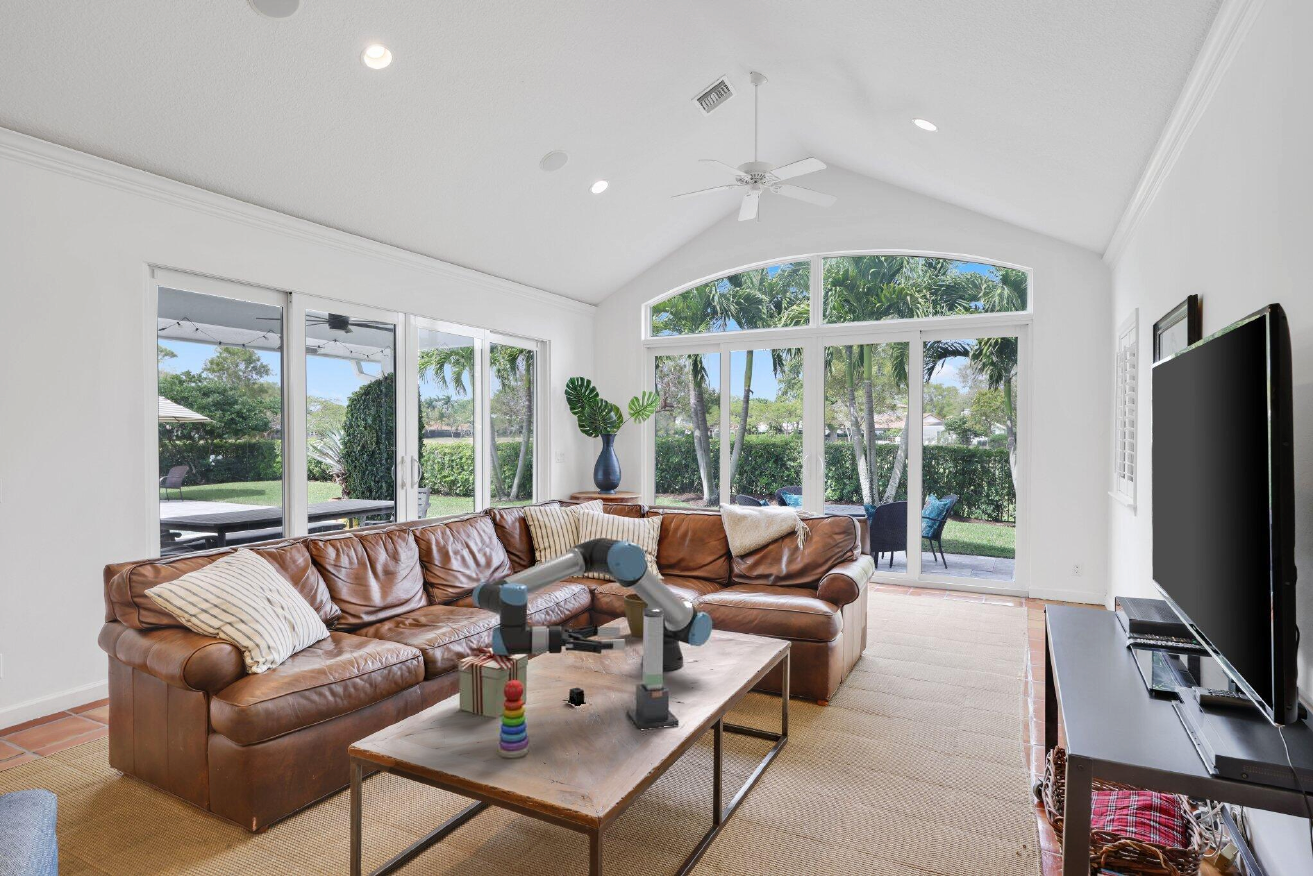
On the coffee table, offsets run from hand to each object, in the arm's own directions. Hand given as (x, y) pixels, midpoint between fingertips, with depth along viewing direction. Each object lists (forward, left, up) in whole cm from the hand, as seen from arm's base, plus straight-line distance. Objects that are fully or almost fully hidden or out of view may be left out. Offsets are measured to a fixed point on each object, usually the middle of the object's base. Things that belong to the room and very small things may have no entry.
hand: (622, 637), depth 204 cm
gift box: (+34, -21, -24) cm, 47 cm away
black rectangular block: (+9, -18, -25) cm, 32 cm away
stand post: (-9, +2, -18) cm, 20 cm away
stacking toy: (+32, +12, -24) cm, 42 cm away
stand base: (-9, +2, -24) cm, 26 cm away
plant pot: (-33, -85, -24) cm, 95 cm away
